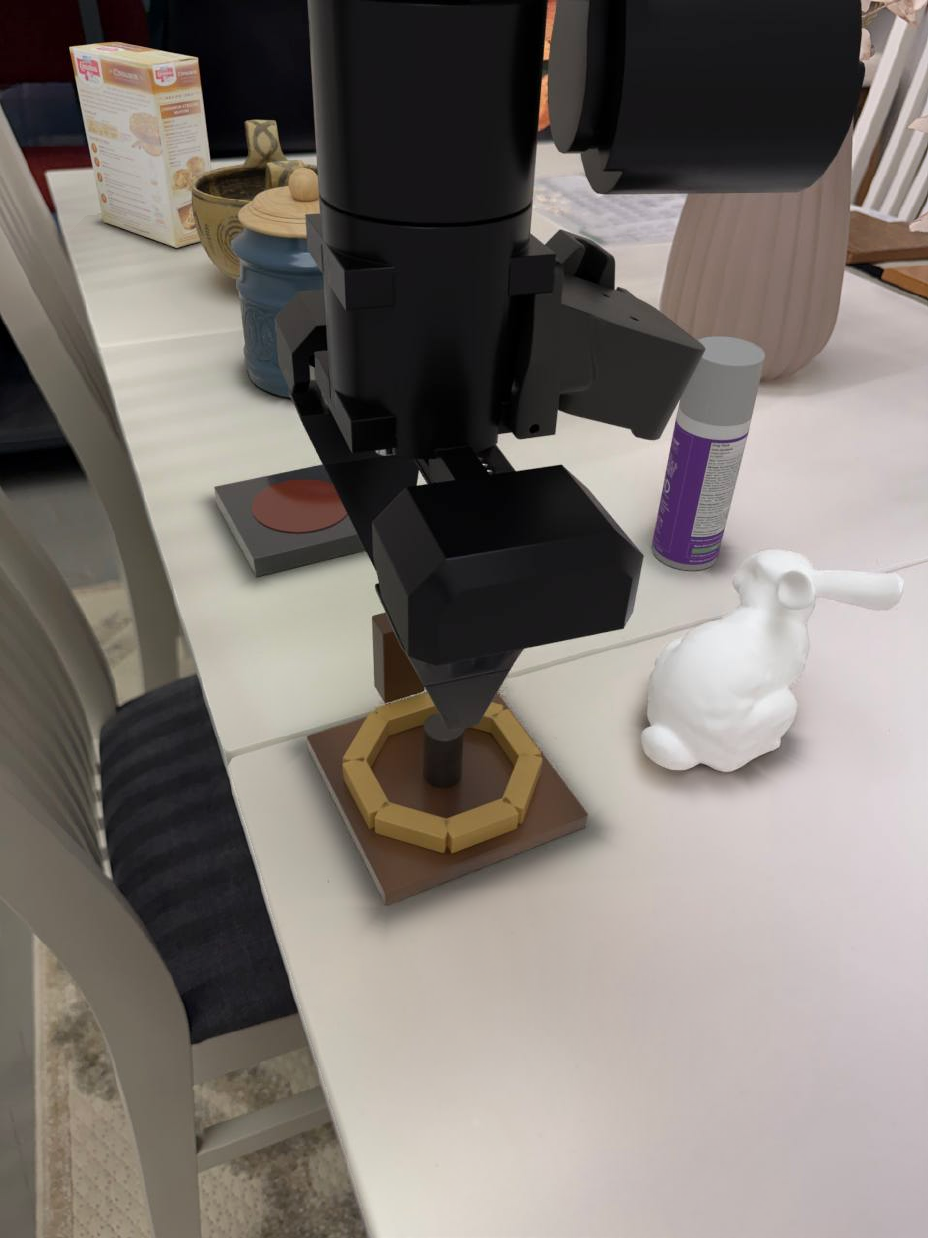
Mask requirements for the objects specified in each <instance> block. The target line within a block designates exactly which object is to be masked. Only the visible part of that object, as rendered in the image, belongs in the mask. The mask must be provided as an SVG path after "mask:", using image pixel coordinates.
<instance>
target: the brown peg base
mask: <svg viewBox="0 0 928 1238" xmlns="http://www.w3.org/2000/svg"><path fill="white" fill-rule="evenodd" d="M492 702H493V703H497V704H500V705H503V710H506V709H509V710H510V711H511V713H512V714H513V715H514V717H515V718H516V719H517V721H518V722H519V723H520V725H521V726H522V727H523V729H524V730H525V732H526V733H527V734H528V736H529V737H530V738H531V740H532V741H533V742H534V744H535V745H536V746H537V748H538V749H539V750H540V752H541V758H542V766H541V773H540V776H539V779H538V782H537V784H536V787H535V790H534V793H533V795H532V798H531V801H530V803H529V806H528V809H527V812H526V814H525V817H524V820H523V823H522V824H519V823H518V824H517V829H515V830H512V831H510V832H507V833H504V834H502V835H499V836H496V837H494V838H491V839H489V840H486V841H483V842H481V843H478V844H476V845H473V846H470V847H468V848H465V849H463V850H460V851H457V852H455V853H451V852H450V850H449V848H448V847H447V848H446V850H445V852H444V853H440V852H437V851H433V850H430V849H427V848H423V847H420V846H417V845H413V844H410V843H407V842H403V841H400V840H397V839H393V838H390V837H387V836H383V835H380V834H377V833H375V827H374V828H371V829H369V828H368V826H367V824H366V822H365V820H364V818H363V816H362V814H361V812H360V810H359V808H358V806H357V804H356V802H355V800H354V799H353V797H352V795H351V793H350V791H349V789H348V787H347V785H346V783H345V781H344V779H343V767H342V764H343V757H344V755H345V753H346V752H347V750H348V748H349V747H350V745H351V743H352V742H353V740H354V738H355V736H356V735H357V733H358V731H359V730H360V728H361V726H362V725H363V723H364V721H365V720H366V718H367V716H365V717H362V718H359V719H356V720H353V721H350V722H347V723H343V724H340V725H337V726H333V727H330V728H328V729H324V730H321V731H317V732H315V733H311V734H308V735H307V736H306V742H307V744H306V745H307V749H308V751H309V753H310V755H311V758H312V759H313V762H314V764H315V766H316V767H317V770H318V772H319V773H320V776H321V778H322V780H323V782H324V784H325V786H326V788H327V790H328V792H329V794H330V796H331V798H332V800H333V802H334V804H335V806H336V809H337V810H338V813H339V814H340V816H341V818H342V820H343V822H344V825H345V827H346V828H347V830H348V832H349V834H350V837H351V838H352V840H353V843H354V844H355V846H356V849H357V850H358V852H359V856H361V859H362V860H363V862H364V865H365V866H366V868H367V871H368V872H369V875H370V877H371V879H372V881H373V883H374V885H375V887H376V889H377V891H378V894H379V895H380V897H381V899H382V901H383V903H384V905H385V906H389V905H391V904H394V903H396V902H399V901H401V900H404V899H407V898H409V897H412V896H414V895H417V894H419V893H422V892H424V891H426V890H428V889H432V888H434V887H437V886H439V885H442V884H445V883H447V882H449V881H452V880H455V879H457V878H460V877H462V876H465V875H468V874H470V873H472V872H476V871H477V870H480V869H482V868H484V867H488V866H491V865H492V864H495V863H498V862H501V861H503V860H505V859H508V858H510V857H513V856H516V855H517V854H521V853H522V852H525V851H528V850H530V849H533V848H535V847H539V846H540V845H543V844H545V843H548V842H550V841H553V840H556V839H558V838H561V837H563V836H565V835H568V834H570V833H574V832H576V831H578V830H581V829H583V828H586V827H587V823H588V818H589V814H588V812H587V811H586V810H585V808H584V806H583V805H582V804H581V803H580V802H579V800H578V798H577V797H576V796H575V795H574V793H573V792H572V790H571V788H569V787H568V785H567V784H566V783H565V781H564V780H563V778H562V777H561V776H560V774H559V773H558V772H557V771H556V769H555V768H554V767H553V765H552V764H551V762H550V761H549V760H548V759H547V756H545V755H544V753H543V752H542V750H541V748H540V747H539V746H538V745H537V744H536V742H535V741H534V740H533V738H532V736H531V735H530V734H529V733H528V731H527V730H526V729H525V727H524V726H523V725H522V723H521V722H520V721H519V719H518V718H517V717H516V715H515V714H514V713H513V711H512V710H511V709H510V707H509V706H508V705H507V703H506V702H505V701H504V700H503V698H502V696H501V695H500V694H499V693H498V692H497V694H496V696H495V697H494V699H493V701H492ZM514 767H515V766H514V765H513V764H512V762H511V761H510V759H509V758H508V756H507V755H506V754H505V752H504V751H503V749H502V748H501V747H500V745H499V744H498V742H497V741H496V739H495V738H494V737H493V735H492V734H491V733H488V732H485V731H481V730H477V729H473V728H470V727H469V728H465V729H460V730H456V731H449V730H448V729H447V728H446V726H445V724H444V722H443V720H442V718H441V716H440V715H439V713H435V714H433V715H431V716H429V717H428V718H427V719H426V721H425V723H424V725H421V726H418V727H415V728H411V729H408V730H405V731H402V732H399V733H396V734H393V735H390V736H388V738H387V739H386V741H385V743H384V745H383V747H382V748H381V750H380V752H379V754H378V755H377V757H376V759H375V761H374V763H373V764H372V766H371V770H372V772H373V774H374V775H375V777H376V779H377V781H378V783H379V784H380V786H381V788H382V790H383V792H384V794H385V795H386V797H387V799H388V801H389V802H391V803H394V804H398V805H401V806H405V807H408V808H412V809H415V810H418V811H422V812H425V813H429V814H432V815H436V816H439V817H443V818H446V819H447V818H450V817H452V816H455V815H458V814H461V813H463V812H466V811H469V810H471V809H474V808H477V807H480V806H482V805H485V804H488V803H490V802H493V801H496V800H499V799H501V798H502V797H503V794H504V792H505V789H506V787H507V784H508V782H509V779H510V777H511V774H512V772H513V769H514Z"/></svg>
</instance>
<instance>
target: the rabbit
mask: <svg viewBox="0 0 928 1238" xmlns="http://www.w3.org/2000/svg"><path fill="white" fill-rule="evenodd" d="M731 583H732V587H733V589H734V590H735V591H736V593H737V594H738V597H739V598H738V599H739V601H740V604H739V605H738V606H737V607H734V608H732V610H731V611H729V612H727V613H726V614H724V615H723V616H721V618H720V619H716V620H710V621H706V622H704V623H701V624H699V625H698V626H696V627H694V628H692V629H690V630H689V631H688V632H686V634H685V635H683V636H680V637H677V638H674V639H673V640H671V641H669V643H668V644H666V645H665V647H664V648H663V649H662V650H661V651H660V653H658V655H657V656H656V658H655V661H654V667H653V668H652V670H650V672H649V676H648V683H647V684H648V685H647V686H648V692H647V693H648V699H647V709H646V716H647V720H648V722H649V725H650V726H647V727H646V728H644V729H643V731H642V732H641V735H640V744H641V747H642V749H643V752H644V754H645V755H646V757H648V758H649V759H650V760H651V761H652V762H654V763H655V764H657V765H659V766H661V767H663V768H666V769H668V770H670V771H671V770H673V771H686V770H689V769H691V768H693V767H696V766H697V765H699V764H702V765H706V766H707V767H709V768H711V769H713V770H715V771H719V772H721V773H722V772H723V773H731V772H734V771H736V770H738V769H740V768H742V767H744V766H745V765H746V764H748V763H749V762H751V761H752V760H754V759H756V758H758V757H760V756H763V755H765V754H767V753H770V752H773V751H776V749H778V748H780V746H781V742H782V740H781V739H782V737H783V736H784V735H785V734H786V733H787V731H788V730H789V729H790V727H792V724H793V723H794V720H795V718H796V715H797V712H798V706H799V705H798V701H797V698H796V696H795V694H793V692H792V691H791V690H790V688H791V686H792V685H794V684H796V682H799V680H800V679H801V677H802V676H803V672H804V670H805V668H806V665H807V661H808V658H809V653H810V647H811V645H810V634H809V627H808V622H809V620H810V618H811V616H812V615H813V612H814V610H815V608H816V604H817V603H816V602H817V598H820V599H825V600H829V601H833V602H837V603H841V604H846V605H850V606H854V607H858V608H861V609H865V610H870V611H875V612H880V611H881V612H884V611H886V612H887V611H889V610H892V609H894V608H895V607H896V606H897V605H898V604H899V602H900V601H901V598H902V597H903V592H904V589H905V580H904V579H903V577H902V576H901V575H900V574H898V573H894V572H878V573H877V572H867V571H860V570H845V569H842V570H841V569H822V570H821V569H815V567H814V565H813V564H812V562H811V561H810V560H809V558H808V557H806V556H805V555H803V554H802V553H799V552H796V551H792V550H784V549H767V550H766V549H765V550H761V551H757V552H755V553H753V554H751V555H749V556H748V557H746V558H745V559H744V560H743V561H742V562H741V563H740V566H739V567H738V569H737V570H736V572H735V573H734V574H733V576H732V581H731Z"/></svg>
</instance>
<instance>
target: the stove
mask: <svg viewBox="0 0 928 1238" xmlns="http://www.w3.org/2000/svg"><path fill="white" fill-rule="evenodd" d="M213 488H214V489H213V490H214V494H215V501H216V504H217V507H218V508H219V511H220V512H221V514H222V516H223V518H224V520H225V522H226V524H227V525H228V528H229V529H230V531H231V533H232V535H233V537H234V538H235V540H236V542H237V544H238V546H239V548H240V549H241V552H242V553H243V555H244V557H245V559H246V561H247V562H248V564H249V567H250V569H251V570H252V571H253V574H254V576H255V577H256V578H258V577H262V576H267V575H270V574H274V573H278V572H282V571H286V570H290V569H294V568H299V567H302V566H303V567H304V566H306V565H311V564H315V563H319V562H322V561H323V562H324V561H328V560H331V559H335V558H339V557H344V556H347V555H351V554H355V553H356V554H357V553H361V552H363V551H364V552H365V551H366V550H365V548H364V546H363V544H362V542H361V540H360V538H359V536H358V534H357V532H356V530H355V528H354V526H353V524H352V522H351V520H350V518H349V516H348V514H347V512H346V510H345V508H344V506H343V504H342V502H341V500H340V498H339V496H338V494H337V492H336V490H335V488H334V486H333V484H332V482H331V480H330V478H329V476H328V474H327V472H326V470H325V468H324V466H323V464H322V463H321V464H317V465H313V466H309V467H303V468H298V469H293V470H289V471H284V472H278V473H275V474H274V473H273V474H268V475H264V476H260V477H254V478H249V479H244V480H240V481H235V482H231V483H230V482H229V483H225V484H221V485H216V486H214V487H213Z"/></svg>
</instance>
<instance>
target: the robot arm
mask: <svg viewBox="0 0 928 1238" xmlns="http://www.w3.org/2000/svg"><path fill="white" fill-rule="evenodd" d="M555 3H556V4H555V12H554V19H553V24H552V31H551V37H550V43H549V53H548V63H547V64H548V65H547V109H548V110H547V111H548V121H549V122H548V123H549V127H550V132H551V137H552V140H553V143H554V147H556V150H557V151H558V152H559V153H561V154H563V155H564V154H565V155H568V154H569V155H571V154H573V155H574V154H576V155H577V154H578V155H580V159H581V160H580V161H581V162H582V167H583V171H584V175H585V178H586V180H587V182H588V184H589V186H590V188H591V189H592V190H593V192H595V193H596V194H598V195H605V196H607V195H608V196H611V195H613V196H614V195H617V196H619V195H686V194H687V195H689V194H691V195H693V194H695V195H696V194H697V195H698V194H702V195H703V194H704V195H705V194H777V193H778V194H779V193H780V194H782V193H784V194H785V193H787V194H788V193H799V192H801V191H805V190H806V189H808V188H810V187H812V186H813V185H814V184H815V183H816V182H817V181H818V180H819V179H821V178H822V177H823V176H824V175H825V173H826V172H827V170H828V169H829V168H830V166H831V165H832V163H833V162H834V160H835V159H836V157H837V156H838V154H839V152H840V150H841V147H842V145H843V144H844V141H845V139H846V137H847V135H848V134H849V131H850V128H851V126H852V123H853V120H854V116H855V113H856V111H857V108H858V105H859V101H860V98H861V94H862V89H863V86H864V81H865V77H866V64H865V62H863V61H862V60H860V58H861V48H862V40H863V8H862V7H863V5H862V4H863V3H862V0H556V2H555ZM548 4H549V0H307V11H308V12H307V16H308V17H307V18H308V33H309V50H310V66H311V67H310V68H311V84H312V85H311V87H312V100H313V101H312V103H313V119H314V121H313V122H314V138H315V155H316V165H317V173H318V191H319V209H320V213H317V214H305V219H306V234H307V249H308V252H309V253H310V255H311V256H312V258H313V259H314V261H315V263H316V264H317V266H318V267H319V269H320V270H321V272H322V274H323V278H324V289H322V290H310V291H298V292H296V293H295V295H294V296H293V297H292V298H291V299H290V301H289V302H288V303H287V304H286V305H285V306H284V308H283V309H282V310H281V311H280V312H279V313H278V315H277V316H276V317H275V329H276V340H277V351H278V362H279V366H280V369H281V371H282V373H283V375H284V378H285V380H286V382H287V384H288V387H289V394H290V397H291V398H290V399H291V401H292V403H293V406H294V408H295V411H296V413H297V415H298V418H299V420H300V422H301V424H302V426H303V428H304V430H305V432H306V434H307V437H308V438H309V440H310V442H311V444H312V446H313V448H314V450H315V452H316V455H317V456H318V458H319V460H320V463H321V465H322V464H323V466H324V468H325V470H326V472H327V474H328V476H329V478H330V480H331V482H332V484H333V486H334V488H335V490H336V492H337V494H338V496H339V498H340V500H341V502H342V504H343V506H344V508H345V510H346V512H347V514H348V516H349V518H350V520H351V522H352V524H353V526H354V528H355V530H356V532H357V534H358V536H359V538H360V540H361V542H362V544H363V546H364V548H365V550H364V551H365V552H366V555H367V556H368V558H369V561H370V562H371V564H372V566H373V568H374V570H375V573H376V576H377V583H375V584H374V589H375V590H374V591H375V593H376V595H377V597H378V600H379V602H380V604H381V606H382V609H383V610H384V613H386V615H387V617H388V620H389V622H390V624H391V627H392V629H393V631H394V633H395V636H396V638H397V640H398V642H399V644H400V646H401V648H402V649H403V651H404V652H405V653H406V655H407V657H408V658H409V660H410V662H411V664H412V666H413V667H414V669H415V671H416V673H417V675H418V676H419V678H420V680H421V682H422V684H423V685H424V687H425V691H426V692H428V694H429V696H430V698H431V700H432V702H433V703H434V705H435V707H436V709H437V711H438V713H439V715H440V716H441V718H442V720H443V722H444V724H445V726H446V728H447V729H448V730H449V731H456V730H460V729H465V728H469V727H473V726H476V725H477V724H479V723H480V721H481V719H482V718H483V716H484V714H485V713H486V711H487V709H488V708H489V706H490V704H491V702H492V701H493V699H494V697H495V696H496V694H497V693H498V692H499V690H500V689H501V688H502V685H503V684H504V682H505V680H506V678H507V677H508V675H509V674H510V671H511V670H512V668H513V666H514V665H515V663H516V662H517V660H518V658H519V657H520V655H521V654H522V652H523V651H524V650H525V649H531V648H536V647H541V646H546V645H550V644H555V643H560V642H565V641H570V640H575V639H580V638H586V637H591V636H595V635H600V634H605V633H611V632H615V631H622V630H624V629H625V628H626V626H627V624H628V622H629V621H630V618H631V617H632V615H633V614H634V611H635V605H636V600H637V594H638V590H639V585H640V584H639V583H640V579H641V573H642V567H643V562H644V557H645V554H643V552H642V551H641V550H640V549H639V548H638V547H637V546H636V545H637V544H635V543H634V541H632V539H631V538H630V537H629V535H628V534H627V533H626V532H625V531H624V530H623V528H622V527H621V525H619V524H618V522H617V521H616V520H615V519H614V518H613V516H612V515H611V514H610V513H609V512H608V510H607V509H606V508H605V506H603V504H602V503H601V502H600V501H599V500H598V498H597V497H596V496H595V495H594V494H593V492H592V491H591V490H590V489H589V488H588V487H587V486H586V485H585V484H584V483H583V482H582V481H581V480H580V479H578V478H577V477H576V476H575V475H574V474H573V473H572V472H571V471H570V470H568V468H566V467H565V466H564V465H563V464H561V463H560V464H555V465H547V466H541V467H535V468H527V469H521V470H520V469H519V470H516V469H515V467H513V465H512V464H511V463H510V461H509V459H508V458H507V457H506V456H505V455H504V452H502V450H501V449H500V448H499V446H498V442H499V435H504V434H512V435H513V436H514V437H515V438H516V439H517V440H527V439H534V438H543V437H550V436H555V435H556V434H557V433H556V432H557V424H558V423H557V422H558V413H559V412H561V413H564V414H566V415H570V416H573V417H578V418H581V419H586V420H590V421H594V422H598V423H602V424H606V425H610V426H615V427H618V428H622V429H626V430H630V432H631V434H632V435H633V436H634V437H635V438H638V439H641V440H646V441H658V440H660V439H661V437H662V435H663V433H664V431H665V430H666V427H667V425H668V424H669V421H670V420H671V418H672V416H673V414H674V413H675V410H676V408H677V406H678V405H679V402H680V398H681V396H682V394H683V393H684V391H685V389H686V387H687V385H688V383H689V381H690V379H691V377H692V375H693V373H694V371H695V369H696V367H697V365H698V364H699V362H700V360H701V358H702V356H703V354H704V352H705V350H706V349H705V347H704V346H703V345H702V344H701V343H700V342H699V341H698V340H699V339H697V338H695V337H694V336H693V335H692V334H690V333H689V332H688V331H686V330H685V329H684V328H683V327H681V326H679V325H678V324H677V323H676V322H674V321H673V320H672V319H670V318H669V317H668V316H667V315H665V314H664V313H663V312H662V311H661V310H659V309H658V308H656V307H655V306H653V305H651V304H650V303H648V302H646V301H645V300H643V299H641V298H638V297H637V296H636V295H634V294H633V293H632V292H631V291H629V290H628V289H626V288H623V287H620V286H617V287H616V260H615V257H614V255H613V254H611V253H610V252H609V251H607V250H606V249H604V247H602V246H600V245H599V244H598V243H597V242H596V241H594V240H592V239H590V238H587V237H584V236H582V235H578V234H575V233H573V232H570V231H567V230H564V229H558V231H556V233H554V234H553V235H552V236H551V237H550V238H549V239H548V241H546V243H543V242H542V241H541V240H540V239H538V237H536V236H535V235H534V234H533V233H531V230H532V229H531V228H532V217H533V203H534V189H535V176H536V165H537V163H536V162H537V148H538V136H539V124H540V123H539V122H540V111H541V97H542V87H543V86H542V84H543V73H544V72H543V70H544V59H545V58H544V57H545V47H546V46H545V44H546V34H547V33H546V32H547V19H548V6H549V5H548ZM309 365H310V367H309ZM310 379H311V380H310ZM419 474H421V476H422V478H423V479H424V482H425V483H424V484H423V483H422V484H418V481H419Z"/></svg>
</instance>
